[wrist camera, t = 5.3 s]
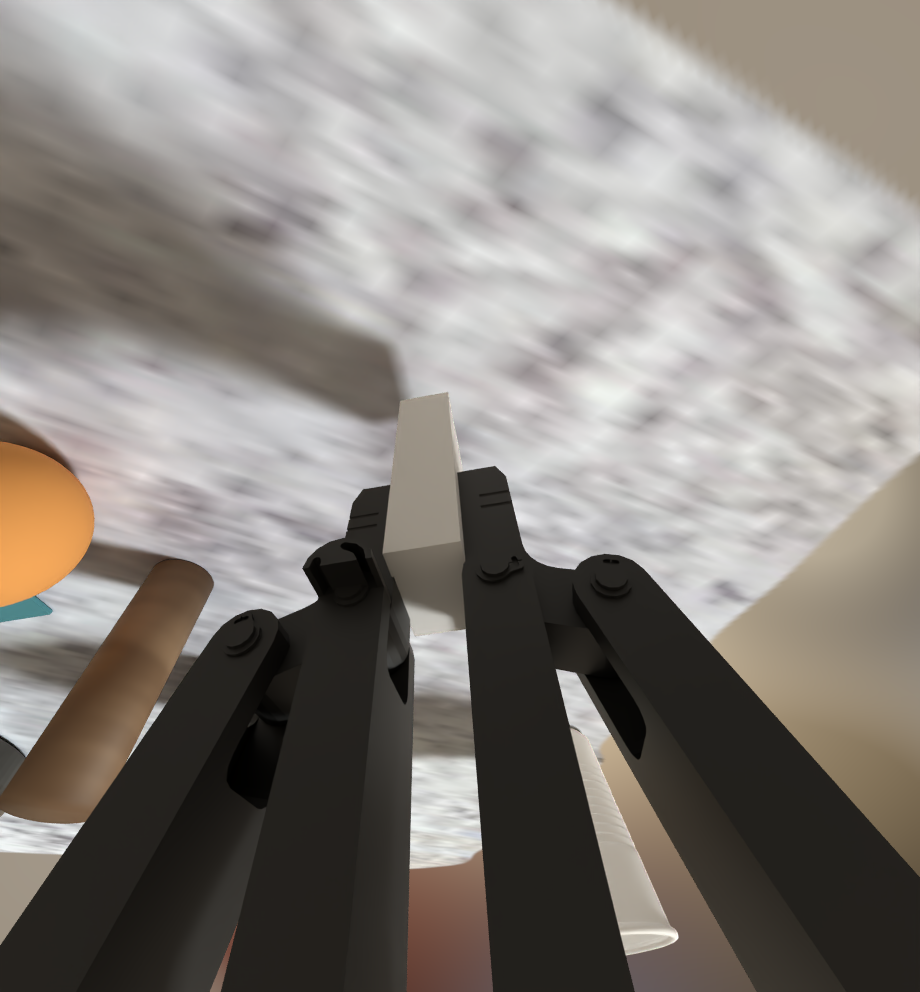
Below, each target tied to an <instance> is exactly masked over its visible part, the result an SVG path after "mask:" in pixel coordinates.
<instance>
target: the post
mask: <svg viewBox="0 0 920 992" xmlns="http://www.w3.org/2000/svg"><path fill="white" fill-rule="evenodd" d="M213 586H214V582H213V579H212V577H211V575H210V574H209V573H208V572H207V571H206V570H204V569H203V568H202V567H200V566H198V565H196V564H194V563H191V562H188V561H183V560H165V561H162V562H159V563H158V564H156V565H155V566H154V568H153V569H152V571H151V572H150V574H149V575H148V577H147V578H146V579H145V581H144V582H143V584H142V585H141V587H140V588H139V590H138V591H137V593H136V594H135V596H134V597H133V599H132V600H131V602H130V603H129V605H128V606H127V608H126V609H125V611H124V612H123V614H122V615H121V617H120V618H119V620H118V621H117V623H116V624H115V626H114V627H113V629H112V630H111V632H110V633H109V635H108V636H107V638H106V639H105V641H104V642H103V644H102V645H101V647H100V648H99V650H98V651H97V653H96V654H95V656H94V657H93V659H92V660H91V662H90V663H89V665H88V666H87V668H86V669H85V671H84V672H83V673H82V675H81V676H80V678H79V679H78V681H77V682H76V684H75V685H74V687H73V688H72V690H71V691H70V693H69V694H68V696H67V697H66V699H65V700H64V702H63V703H62V705H61V706H60V708H59V709H58V711H57V712H56V714H55V715H54V717H53V718H52V720H51V721H50V723H49V724H48V726H47V727H46V729H45V730H44V732H43V733H42V735H41V736H40V738H39V739H38V741H37V742H36V744H35V745H34V747H33V748H32V750H31V751H30V753H29V754H28V756H27V757H26V759H25V760H24V762H23V763H22V765H21V766H20V767H19V769H18V770H17V772H16V773H15V775H14V776H13V778H12V779H11V781H10V782H9V784H8V785H7V787H6V788H5V790H4V791H3V793H2V794H1V796H0V809H1V810H2V811H4V812H6V813H8V814H10V815H13V816H16V817H19V818H23V819H27V820H32V821H38V822H45V823H60V824H70V823H81V822H86V820H87V819H88V817H89V816H90V814H91V813H92V811H93V810H94V809H95V807H96V806H97V804H98V803H99V801H100V800H101V798H102V797H103V795H104V794H105V793H106V791H107V790H108V788H109V787H110V785H111V784H112V782H113V781H114V779H115V778H116V777H117V775H118V774H119V772H120V771H121V769H122V768H123V766H124V765H125V763H126V761H127V759H128V757H129V755H130V753H131V751H132V749H133V747H134V745H135V743H136V741H137V739H138V737H139V735H140V733H141V731H142V729H143V727H144V725H145V723H146V721H147V719H148V717H149V715H150V713H151V711H152V709H153V707H154V705H155V703H156V701H157V699H158V697H159V695H160V693H161V691H162V689H163V687H164V685H165V683H166V681H167V679H168V677H169V675H170V673H171V671H172V669H173V667H174V665H175V663H176V661H177V659H178V657H179V655H180V653H181V651H182V649H183V647H184V645H185V643H186V641H187V639H188V637H189V635H190V633H191V631H192V629H193V627H194V625H195V623H196V621H197V619H198V617H199V615H200V613H201V611H202V609H203V607H204V605H205V603H206V601H207V599H208V597H209V595H210V593H211V591H212V589H213Z"/></svg>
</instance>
